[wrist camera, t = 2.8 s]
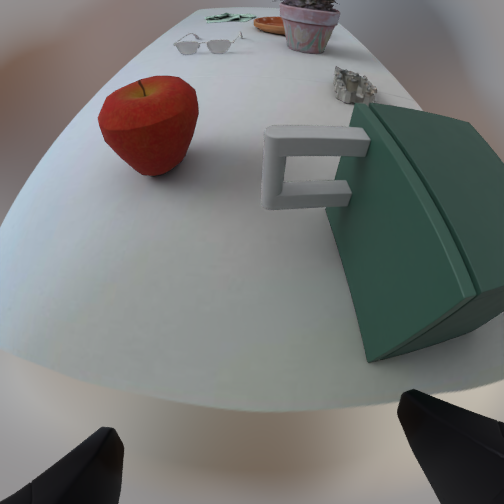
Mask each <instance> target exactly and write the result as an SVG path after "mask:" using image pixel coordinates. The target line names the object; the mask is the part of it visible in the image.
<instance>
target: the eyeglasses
mask: <svg viewBox="0 0 504 504" xmlns="http://www.w3.org/2000/svg"><path fill="white" fill-rule="evenodd" d="M190 34H193V33H190ZM240 34H241V35H240ZM240 34H239V35H240V38H242V33H241V32H240ZM187 35H189V34H187ZM187 35H186V36H187ZM193 35H194V36H195V37H196V39H199V37H198V36H197V35H195V34H193ZM184 37H185V36H184ZM184 37H183V38H184ZM238 37H239V36H238ZM238 37H237V38H238ZM237 38H236V39H237ZM236 39H235V40H236ZM180 40H181V39H180ZM180 40H179V41H180ZM235 40H233V41H229V40H211V41H208V42H207V47H208V48H209V50H210V51H211V52H212V53H217V54H221V53H225V52H227V51H228V49H229V47H230V45H231V43H234V42H235ZM202 43H205V42H202ZM199 44H201V43H198V42H196V41H183V42H178V43H177V44H176V43H174V44H173V45H174V46H176V47H177V49H178V50H179V52H180V53H181V54H185V55H189V54H194V53H196V51H197V50H198V48H199V46H200V45H199Z"/></svg>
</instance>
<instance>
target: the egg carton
mask: <svg viewBox="0 0 504 504" xmlns="http://www.w3.org/2000/svg"><path fill="white" fill-rule="evenodd" d="M334 85H336V86H335V91H336V92H337V95H336V98H337V99H339V100H342V101H343V102H344V103H348V104H349V103H350V102H354V103H363V104H366V105H367V106H369V103H373V101H374V97H375V96H374V94H373V93H377V91H376V90H377V88H376V87H375V86H373V85H372V83H370V82H369V81H367V77H366V76H363V77H361V76H359V74H358V73H354V72H352V71H348V70H343V69H340V68H339V67H337V66H336V67H335V77H334Z"/></svg>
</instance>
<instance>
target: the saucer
mask: <svg viewBox="0 0 504 504" xmlns="http://www.w3.org/2000/svg"><path fill="white" fill-rule="evenodd" d="M254 26H255V27H257V28H259V29H260V30H263V31H266V32H270V33H275V34H283V35H286V34H285V29H284V24H283V19H282V18H281V17H263V18H257V19H255V20H254Z"/></svg>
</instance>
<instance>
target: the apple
mask: <svg viewBox="0 0 504 504" xmlns="http://www.w3.org/2000/svg"><path fill="white" fill-rule="evenodd" d="M198 114H199V110H198V101H197V96H196V91H195V89H194V88H192V87H191V86H190V85H189V84H188V83H187V82H185V81H184V80H182V79H181V78H180V77H174V76H153V77H149V78H145V79H141V80H138V81H136V82H134V83H131V84H129V85H127V86H124V87H122V88H120V89H118V90H116V91H115V92H113V93H112V94H110V95H109V96H108V97H106V100H105V102H104V104H103V106H102V109H101V111H100V114H99V116H98V122H99V126H100V129H101V132H102V135H103V137H104V140H105V142H106V143H107V144H108V145H109V146H110V147H111V148H112V149H113V150H114V151H115V152H116V153H117V154H118V155H119V156H120V157H121V158H122V159H123V160H124V161H125V162H126V163H128V164H129V165H130V166H131V167H132V168H133V169H135V170H136V171H137V172H139V173H141V174H142V175H149V176H156V175H161V174H164V173H166V172H168V171H170V170H171V169H172V168H174V167H175V166H176V165H178V164H179V163H180V162H181V161H182V160H183V158H184V157H185V155H186V152H187V150H188V147H189V145H190V142H191V140H192V137H193V134H194V130H195V126H196V122H197V118H198Z"/></svg>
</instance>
